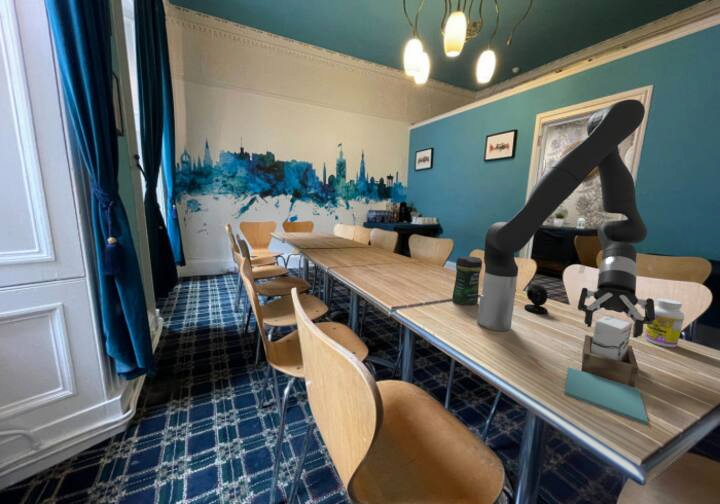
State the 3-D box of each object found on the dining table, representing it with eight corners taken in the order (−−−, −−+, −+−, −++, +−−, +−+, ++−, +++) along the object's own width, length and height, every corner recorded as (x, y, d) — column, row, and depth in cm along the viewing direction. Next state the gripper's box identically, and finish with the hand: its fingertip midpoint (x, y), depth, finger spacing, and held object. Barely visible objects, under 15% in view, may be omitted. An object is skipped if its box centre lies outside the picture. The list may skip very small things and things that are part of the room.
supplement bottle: (637, 337, 85) (646, 297, 83) (657, 337, 85) (666, 297, 83) (663, 348, 78) (673, 305, 76) (684, 348, 79) (694, 305, 77)
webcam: (519, 306, 108) (522, 282, 107) (537, 306, 109) (540, 282, 107) (533, 314, 101) (537, 288, 99) (552, 314, 101) (556, 288, 100)
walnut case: (581, 370, 65) (584, 353, 65) (582, 350, 75) (585, 334, 75) (634, 387, 60) (638, 368, 59) (628, 362, 70) (631, 346, 69)
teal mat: (564, 394, 57) (564, 391, 57) (568, 369, 66) (568, 367, 66) (647, 424, 49) (648, 421, 49) (638, 391, 58) (639, 389, 58)
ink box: (613, 377, 63) (622, 329, 61) (586, 366, 67) (594, 320, 65) (624, 366, 68) (634, 321, 66) (599, 357, 72) (607, 314, 70)
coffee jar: (463, 306, 106) (468, 259, 103) (448, 300, 113) (452, 255, 110) (481, 304, 110) (486, 258, 107) (466, 297, 117) (471, 254, 114)
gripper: (584, 264, 77) (576, 315, 70) (658, 273, 68) (657, 333, 61) (581, 279, 82) (574, 328, 75) (650, 290, 73) (649, 346, 66)
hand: (611, 330), depth 68 cm, fingers open, 8 cm apart
